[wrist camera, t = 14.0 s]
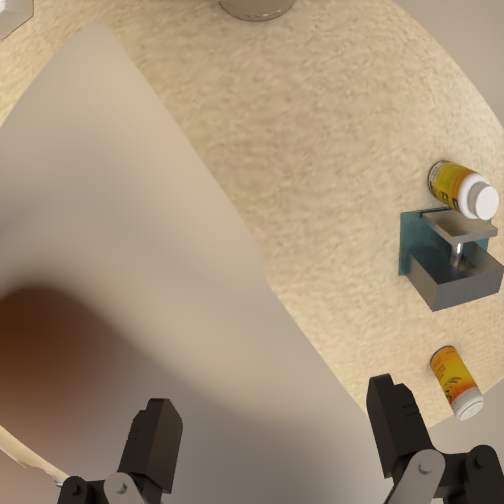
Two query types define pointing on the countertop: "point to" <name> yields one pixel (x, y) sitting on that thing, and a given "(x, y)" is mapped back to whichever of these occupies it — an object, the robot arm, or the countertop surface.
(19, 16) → the medicine bottle
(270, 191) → the countertop surface
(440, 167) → the supplement bottle
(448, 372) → the beer can
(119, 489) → the robot arm
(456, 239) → the grey plate with rod
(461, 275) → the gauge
